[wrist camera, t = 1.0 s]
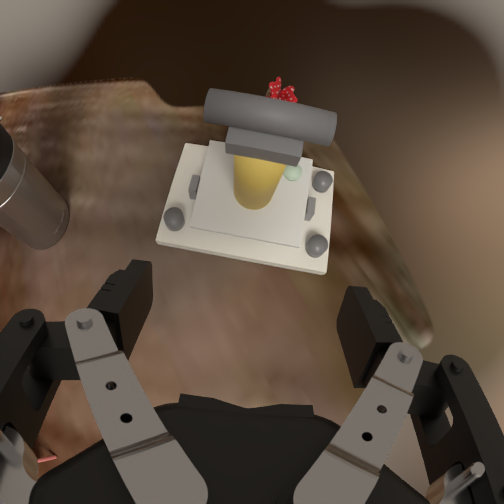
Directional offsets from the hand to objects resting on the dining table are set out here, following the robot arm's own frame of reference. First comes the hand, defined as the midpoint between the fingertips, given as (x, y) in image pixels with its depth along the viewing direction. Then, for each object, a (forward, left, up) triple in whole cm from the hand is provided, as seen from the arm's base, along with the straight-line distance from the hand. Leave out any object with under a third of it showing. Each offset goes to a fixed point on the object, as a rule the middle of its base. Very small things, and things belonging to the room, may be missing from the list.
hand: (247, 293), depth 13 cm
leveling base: (0, +18, -29) cm, 34 cm away
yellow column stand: (0, +18, -25) cm, 30 cm away
